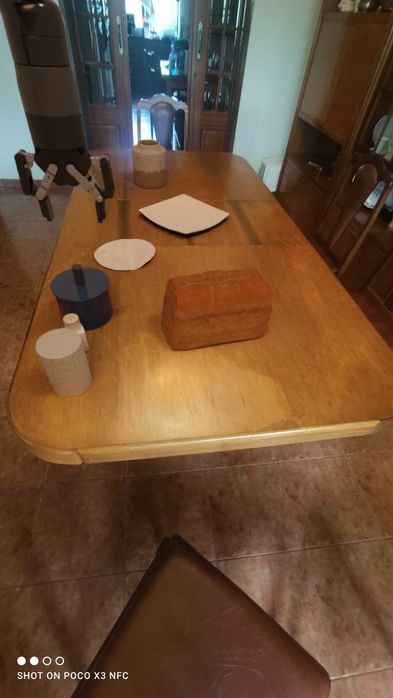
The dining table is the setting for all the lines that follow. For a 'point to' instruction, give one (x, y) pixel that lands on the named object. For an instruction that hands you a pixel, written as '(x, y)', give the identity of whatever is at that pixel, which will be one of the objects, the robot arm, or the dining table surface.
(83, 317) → the pot
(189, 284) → the bread
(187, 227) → the plate
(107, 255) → the plaque
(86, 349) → the salt shaker
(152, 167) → the vase
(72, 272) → the pot lid
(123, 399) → the dining table surface
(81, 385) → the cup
